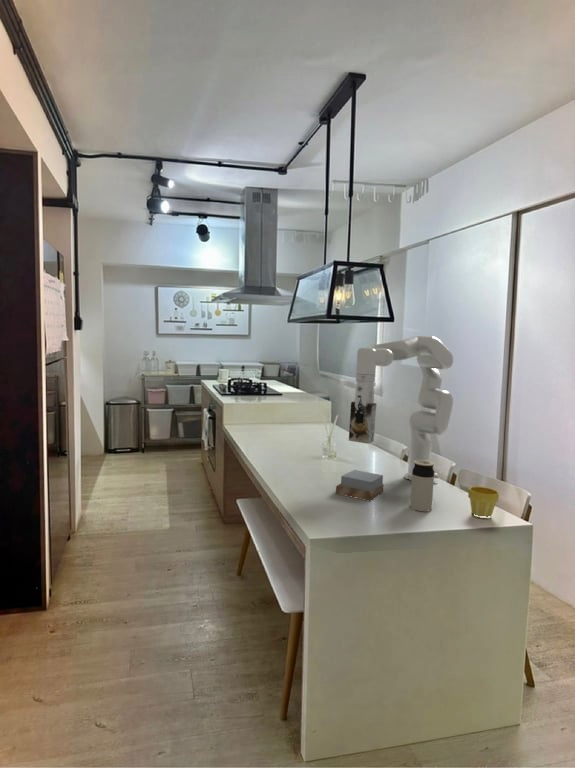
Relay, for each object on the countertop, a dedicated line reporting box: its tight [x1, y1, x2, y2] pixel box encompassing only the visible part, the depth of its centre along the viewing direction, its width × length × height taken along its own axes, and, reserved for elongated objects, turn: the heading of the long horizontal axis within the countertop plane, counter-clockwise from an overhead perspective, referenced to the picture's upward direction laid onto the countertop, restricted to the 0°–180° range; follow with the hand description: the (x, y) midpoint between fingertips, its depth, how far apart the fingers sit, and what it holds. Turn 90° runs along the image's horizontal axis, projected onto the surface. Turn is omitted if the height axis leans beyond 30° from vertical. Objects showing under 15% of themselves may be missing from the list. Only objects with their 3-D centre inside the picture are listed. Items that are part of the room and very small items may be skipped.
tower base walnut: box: [335, 483, 385, 502], centre depth 205 cm, size 15×15×4 cm
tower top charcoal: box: [340, 469, 384, 492], centre depth 205 cm, size 13×13×4 cm
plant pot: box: [467, 486, 500, 517], centre depth 183 cm, size 10×10×10 cm
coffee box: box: [348, 400, 377, 445], centre depth 204 cm, size 9×6×16 cm
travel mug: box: [409, 460, 435, 512], centre depth 188 cm, size 8×8×18 cm
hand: (362, 421), depth 204 cm, fingers closed on coffee box, 6 cm apart
